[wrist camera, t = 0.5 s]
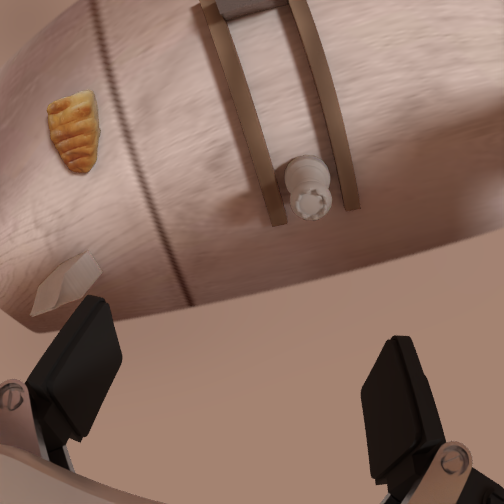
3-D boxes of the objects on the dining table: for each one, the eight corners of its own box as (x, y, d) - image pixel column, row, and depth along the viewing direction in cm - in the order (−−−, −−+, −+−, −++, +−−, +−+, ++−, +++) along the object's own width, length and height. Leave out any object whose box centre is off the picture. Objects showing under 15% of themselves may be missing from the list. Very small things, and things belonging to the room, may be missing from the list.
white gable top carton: (61, 263, 40) (21, 304, 31) (88, 249, 38) (45, 294, 29) (74, 283, 41) (38, 326, 32) (102, 272, 39) (64, 319, 30)
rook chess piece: (309, 205, 31) (314, 243, 24) (274, 178, 30) (269, 209, 23) (338, 173, 29) (353, 202, 22) (303, 144, 28) (307, 164, 21)
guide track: (294, -25, 20) (294, -29, 19) (358, 204, 30) (360, 208, 29) (201, 1, 22) (198, -2, 21) (273, 222, 33) (272, 226, 32)
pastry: (113, 164, 31) (94, 174, 28) (70, 174, 33) (51, 184, 29) (97, 84, 27) (76, 87, 24) (54, 102, 28) (33, 107, 25)
